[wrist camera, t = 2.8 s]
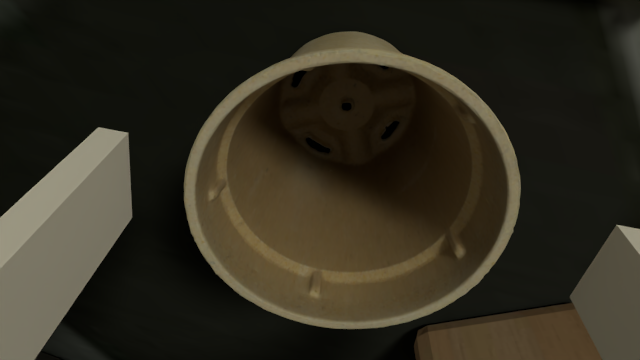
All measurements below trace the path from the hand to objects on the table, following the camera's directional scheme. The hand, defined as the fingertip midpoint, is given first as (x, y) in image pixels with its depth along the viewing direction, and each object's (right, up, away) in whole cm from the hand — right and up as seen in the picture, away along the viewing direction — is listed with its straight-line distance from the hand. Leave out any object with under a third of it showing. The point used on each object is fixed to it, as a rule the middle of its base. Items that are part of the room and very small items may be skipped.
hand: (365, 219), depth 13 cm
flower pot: (0, +5, +8) cm, 9 cm away
